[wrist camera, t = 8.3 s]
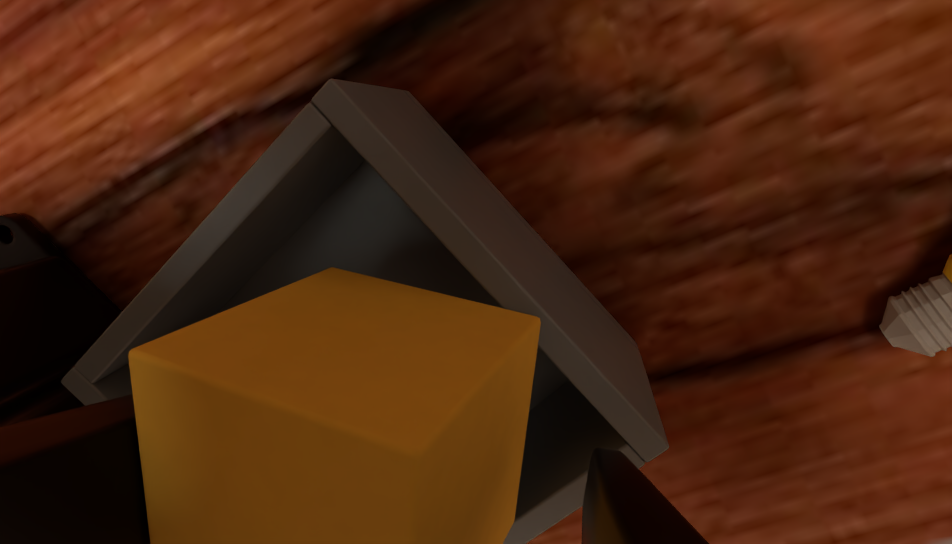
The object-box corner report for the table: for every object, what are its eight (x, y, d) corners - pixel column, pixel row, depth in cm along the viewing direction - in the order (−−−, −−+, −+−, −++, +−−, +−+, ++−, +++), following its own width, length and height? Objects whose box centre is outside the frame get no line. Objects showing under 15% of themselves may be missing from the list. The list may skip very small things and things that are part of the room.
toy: (515, 522, 10) (399, 744, 7) (330, 452, 12) (154, 604, 8) (543, 315, 9) (418, 454, 5) (331, 264, 10) (122, 348, 7)
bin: (408, 514, 16) (349, 661, 12) (201, 306, 15) (57, 382, 11) (637, 344, 14) (671, 448, 9) (407, 89, 13) (329, 76, 9)
